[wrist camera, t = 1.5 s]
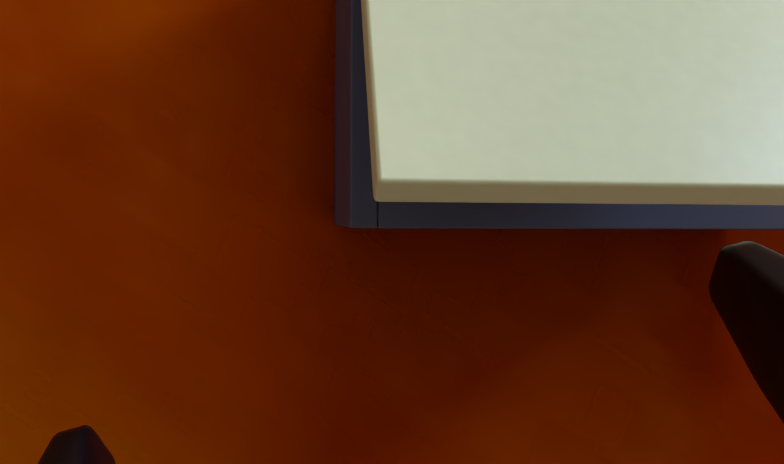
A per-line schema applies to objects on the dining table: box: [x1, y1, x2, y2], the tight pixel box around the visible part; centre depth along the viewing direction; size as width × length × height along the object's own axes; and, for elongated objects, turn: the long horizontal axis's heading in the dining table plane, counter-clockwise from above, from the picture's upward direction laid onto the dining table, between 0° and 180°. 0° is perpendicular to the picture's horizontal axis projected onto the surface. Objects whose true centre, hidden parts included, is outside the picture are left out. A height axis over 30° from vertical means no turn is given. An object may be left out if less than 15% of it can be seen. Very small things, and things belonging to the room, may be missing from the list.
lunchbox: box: [334, 0, 784, 230], centre depth 21 cm, size 9×14×6 cm, turn 89°
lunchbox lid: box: [361, 0, 784, 205], centre depth 15 cm, size 10×14×1 cm
